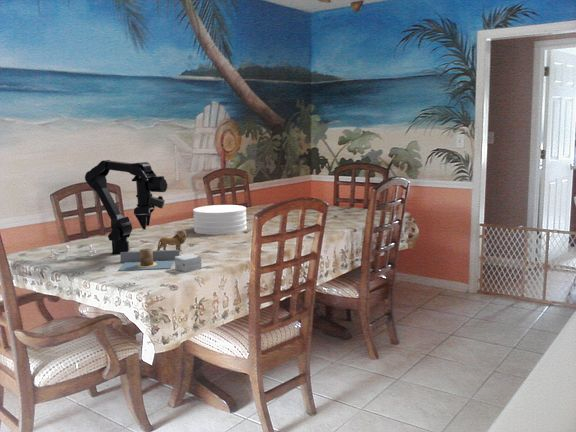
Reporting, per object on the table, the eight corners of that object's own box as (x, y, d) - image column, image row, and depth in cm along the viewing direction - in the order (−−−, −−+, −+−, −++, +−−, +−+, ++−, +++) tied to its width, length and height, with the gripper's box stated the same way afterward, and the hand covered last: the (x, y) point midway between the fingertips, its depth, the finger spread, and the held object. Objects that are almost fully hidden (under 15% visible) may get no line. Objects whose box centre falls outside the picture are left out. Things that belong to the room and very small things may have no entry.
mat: (118, 271, 216) (118, 269, 216) (124, 263, 228) (124, 262, 228) (170, 268, 218) (170, 267, 218) (173, 261, 230) (173, 259, 230)
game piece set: (50, 253, 251) (49, 245, 251) (96, 249, 258) (96, 241, 258) (48, 263, 233) (47, 254, 233) (98, 258, 240) (98, 249, 240)
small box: (174, 269, 218) (173, 256, 217) (192, 265, 223) (191, 253, 222) (184, 272, 212) (184, 259, 211) (202, 268, 217) (201, 256, 216)
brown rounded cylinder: (139, 266, 220) (138, 251, 219) (141, 263, 225) (140, 248, 224) (152, 265, 221) (151, 251, 220) (154, 262, 226) (153, 248, 225)
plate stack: (244, 234, 284) (243, 212, 282) (189, 235, 284) (188, 213, 282) (249, 224, 311) (248, 204, 309) (199, 225, 312) (198, 205, 310)
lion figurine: (185, 248, 254) (184, 228, 253) (189, 250, 250) (188, 230, 248) (153, 252, 247) (152, 232, 246) (157, 254, 243) (156, 234, 241)
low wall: (120, 262, 230) (120, 252, 230) (121, 261, 231) (120, 252, 231) (179, 259, 232) (178, 250, 232) (179, 259, 233) (179, 249, 233)
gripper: (159, 193, 230) (161, 230, 233) (165, 188, 249) (167, 223, 251) (132, 194, 229) (134, 231, 232) (140, 189, 248) (142, 223, 250)
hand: (146, 227), depth 241 cm, fingers open, 9 cm apart
